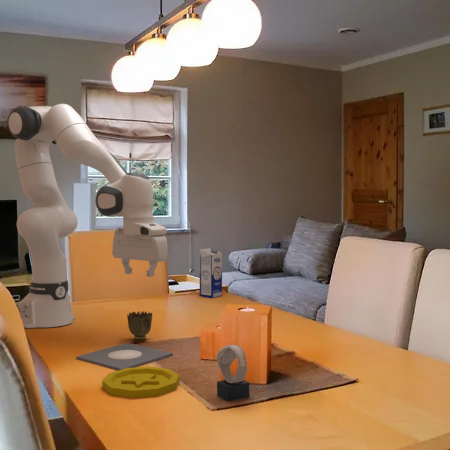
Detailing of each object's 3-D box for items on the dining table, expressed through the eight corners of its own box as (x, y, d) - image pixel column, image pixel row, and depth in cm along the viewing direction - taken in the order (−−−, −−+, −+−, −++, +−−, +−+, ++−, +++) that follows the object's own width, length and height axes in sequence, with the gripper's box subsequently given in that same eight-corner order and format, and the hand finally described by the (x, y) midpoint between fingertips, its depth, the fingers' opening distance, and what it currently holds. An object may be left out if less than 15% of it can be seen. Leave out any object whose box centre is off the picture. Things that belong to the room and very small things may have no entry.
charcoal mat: (76, 358, 157) (76, 356, 157) (127, 344, 171) (127, 342, 171) (122, 371, 146) (122, 368, 146) (172, 355, 160) (172, 352, 160)
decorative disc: (87, 388, 135) (87, 379, 135) (145, 370, 148) (145, 362, 148) (136, 405, 124) (136, 396, 124) (194, 384, 138) (194, 375, 137)
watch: (233, 388, 134) (233, 340, 133) (253, 399, 127) (254, 348, 126) (212, 393, 131) (212, 343, 130) (231, 404, 124) (231, 352, 123)
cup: (147, 343, 172) (147, 316, 172) (123, 342, 174) (123, 315, 173) (155, 337, 180) (155, 311, 179) (132, 336, 181) (132, 310, 181)
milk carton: (209, 294, 254) (209, 247, 253) (222, 295, 250) (222, 248, 249) (199, 296, 248) (199, 249, 247) (212, 298, 244) (212, 249, 243)
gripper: (106, 227, 179) (107, 273, 180) (155, 230, 166) (155, 279, 167) (122, 226, 184) (123, 271, 184) (170, 228, 171) (171, 276, 172)
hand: (139, 275), depth 175 cm, fingers open, 8 cm apart
